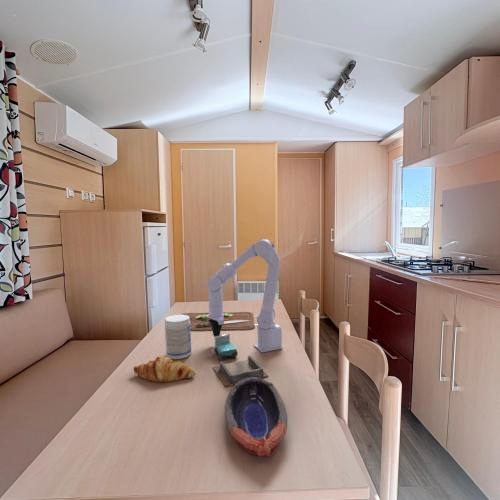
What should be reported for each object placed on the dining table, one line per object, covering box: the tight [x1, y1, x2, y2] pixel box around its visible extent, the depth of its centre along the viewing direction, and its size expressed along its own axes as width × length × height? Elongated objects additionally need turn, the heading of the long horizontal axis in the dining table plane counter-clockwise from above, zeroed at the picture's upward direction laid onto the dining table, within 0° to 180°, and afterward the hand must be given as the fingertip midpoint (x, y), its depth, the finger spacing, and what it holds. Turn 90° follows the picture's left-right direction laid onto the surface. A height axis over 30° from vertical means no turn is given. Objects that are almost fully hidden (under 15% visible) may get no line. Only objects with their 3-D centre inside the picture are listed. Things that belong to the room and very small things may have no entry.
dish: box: [224, 377, 288, 457], centre depth 78 cm, size 16×31×5 cm, turn 2°
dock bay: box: [212, 355, 269, 387], centre depth 104 cm, size 15×14×3 cm
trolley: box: [213, 333, 238, 361], centre depth 117 cm, size 7×9×6 cm
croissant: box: [133, 356, 196, 383], centre depth 102 cm, size 21×10×8 cm, turn 86°
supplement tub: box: [164, 314, 192, 360], centre depth 118 cm, size 10×10×15 cm
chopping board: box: [180, 311, 259, 332], centre depth 158 cm, size 45×27×3 cm, turn 91°
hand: (216, 336), depth 128 cm, fingers closed
